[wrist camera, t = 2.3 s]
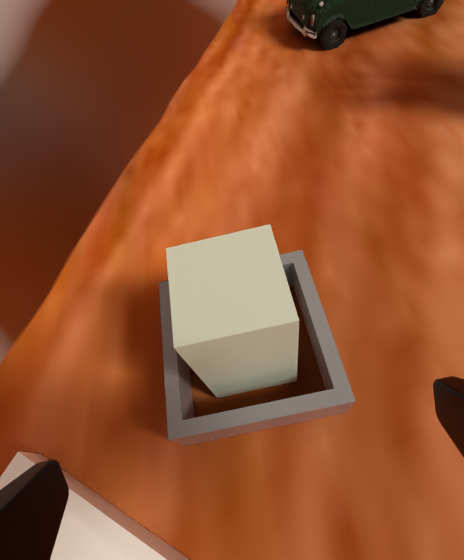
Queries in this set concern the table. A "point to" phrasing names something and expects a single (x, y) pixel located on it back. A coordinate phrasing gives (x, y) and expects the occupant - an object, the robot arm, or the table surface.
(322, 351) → the holder
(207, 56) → the table surface
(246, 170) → the table surface
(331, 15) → the miniature car
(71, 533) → the tray
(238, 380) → the sage block
